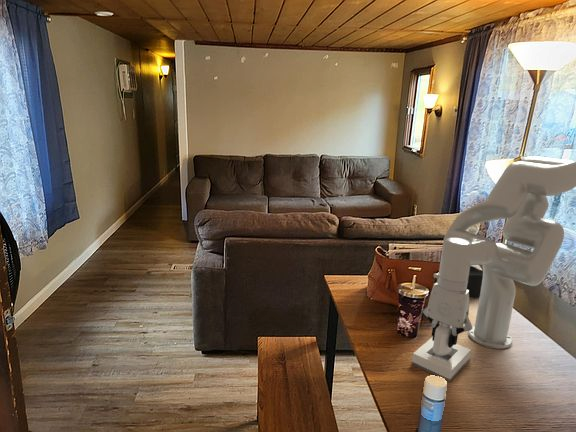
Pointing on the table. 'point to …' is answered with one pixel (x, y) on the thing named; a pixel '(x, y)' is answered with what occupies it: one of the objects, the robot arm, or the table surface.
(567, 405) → the table surface
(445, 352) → the eye dropper bottle
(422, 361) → the bottle holder
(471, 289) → the pen holder
